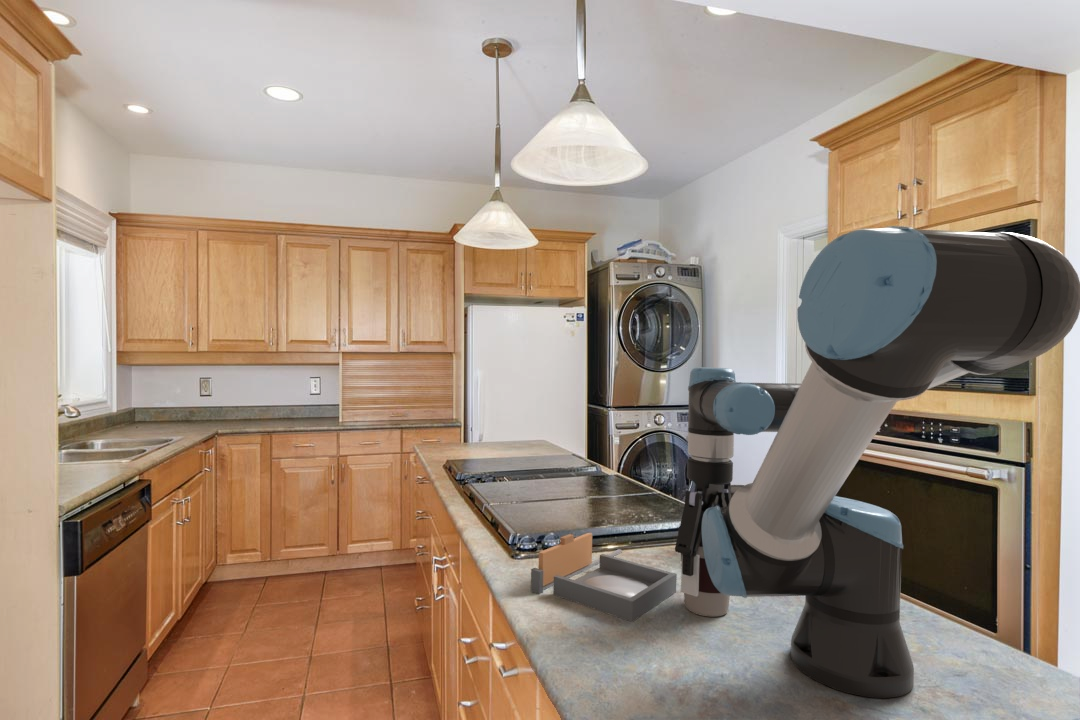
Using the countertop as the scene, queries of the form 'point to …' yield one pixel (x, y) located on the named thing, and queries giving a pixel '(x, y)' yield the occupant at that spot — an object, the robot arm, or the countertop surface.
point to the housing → (612, 586)
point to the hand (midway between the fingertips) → (706, 581)
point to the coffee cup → (706, 593)
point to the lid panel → (566, 556)
